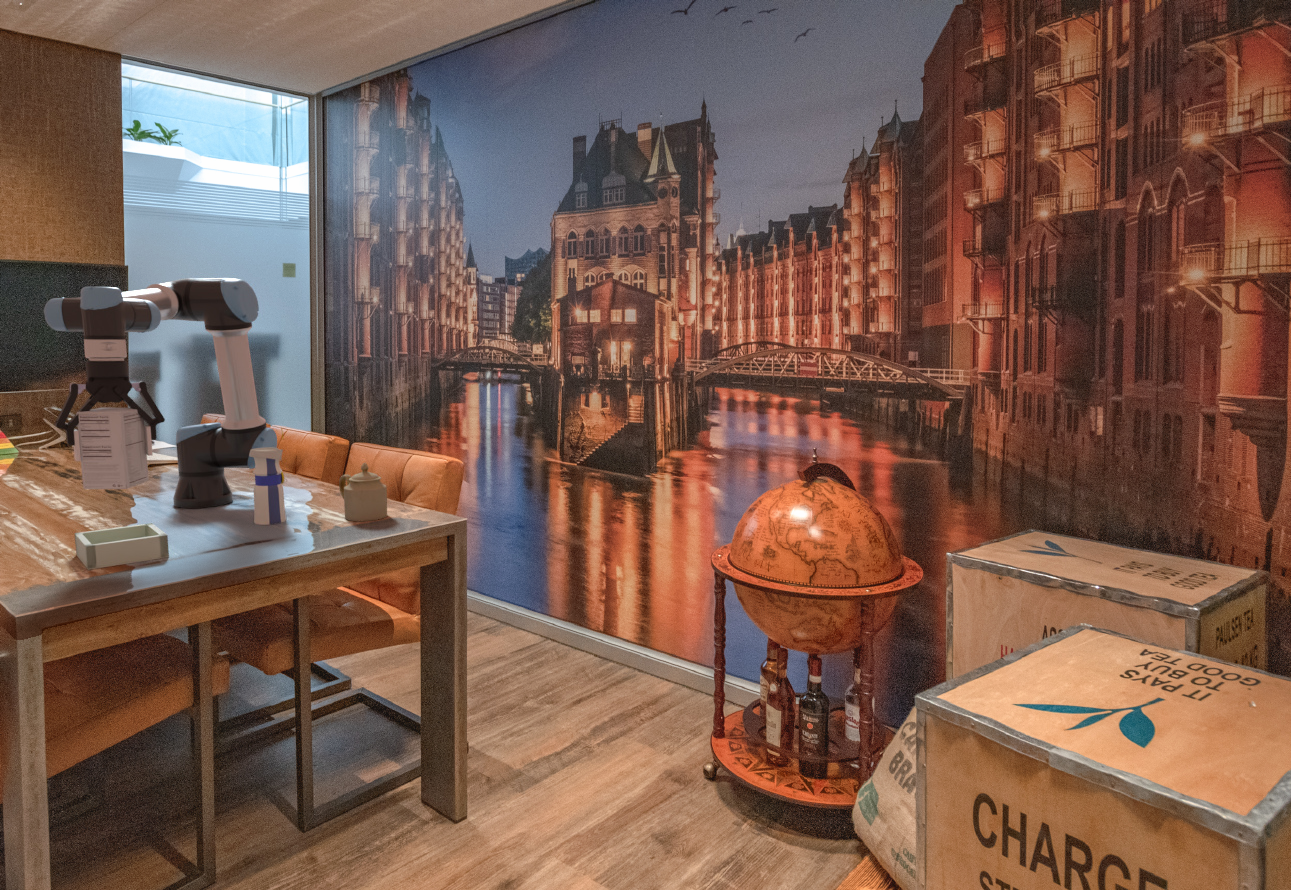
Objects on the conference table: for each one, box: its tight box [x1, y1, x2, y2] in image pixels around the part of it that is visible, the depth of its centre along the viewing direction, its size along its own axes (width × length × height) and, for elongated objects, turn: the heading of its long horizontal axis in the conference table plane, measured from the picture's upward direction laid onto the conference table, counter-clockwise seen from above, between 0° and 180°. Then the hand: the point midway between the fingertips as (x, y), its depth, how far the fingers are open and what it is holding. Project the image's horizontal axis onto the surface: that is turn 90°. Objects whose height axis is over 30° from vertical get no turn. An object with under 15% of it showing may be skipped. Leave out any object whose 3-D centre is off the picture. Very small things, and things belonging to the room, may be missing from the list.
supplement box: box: [75, 407, 150, 490], centre depth 176 cm, size 10×9×17 cm
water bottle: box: [249, 427, 287, 526], centre depth 212 cm, size 8×9×25 cm
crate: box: [74, 522, 170, 570], centre depth 179 cm, size 15×15×5 cm
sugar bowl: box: [338, 462, 388, 522], centre depth 219 cm, size 15×11×15 cm
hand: (114, 457), depth 176 cm, fingers closed on supplement box, 12 cm apart
